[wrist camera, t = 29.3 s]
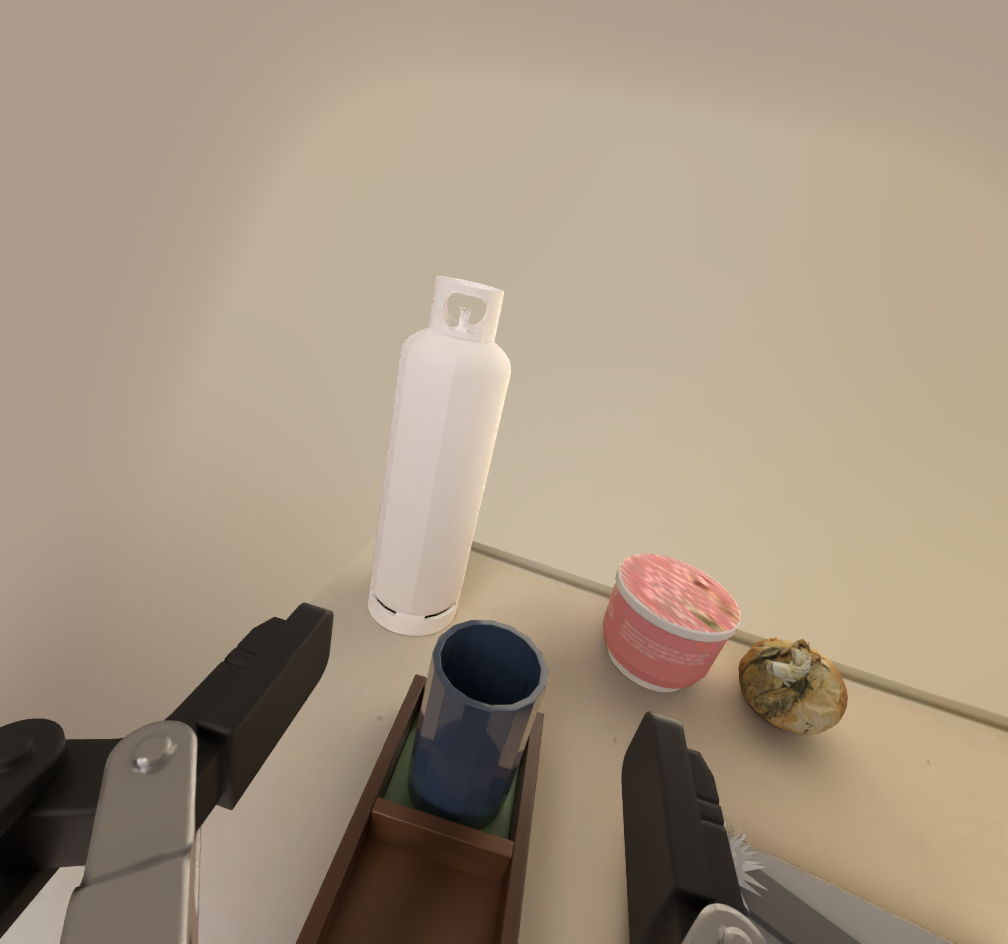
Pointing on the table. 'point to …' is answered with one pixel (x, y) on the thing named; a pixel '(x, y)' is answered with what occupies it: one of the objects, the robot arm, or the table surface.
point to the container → (666, 622)
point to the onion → (793, 686)
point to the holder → (425, 859)
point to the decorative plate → (812, 905)
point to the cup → (474, 721)
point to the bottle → (437, 461)
